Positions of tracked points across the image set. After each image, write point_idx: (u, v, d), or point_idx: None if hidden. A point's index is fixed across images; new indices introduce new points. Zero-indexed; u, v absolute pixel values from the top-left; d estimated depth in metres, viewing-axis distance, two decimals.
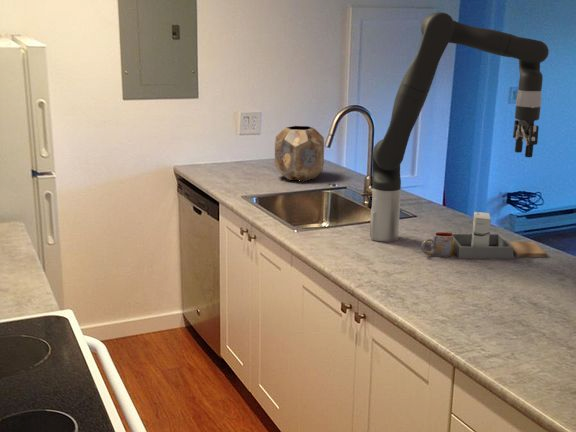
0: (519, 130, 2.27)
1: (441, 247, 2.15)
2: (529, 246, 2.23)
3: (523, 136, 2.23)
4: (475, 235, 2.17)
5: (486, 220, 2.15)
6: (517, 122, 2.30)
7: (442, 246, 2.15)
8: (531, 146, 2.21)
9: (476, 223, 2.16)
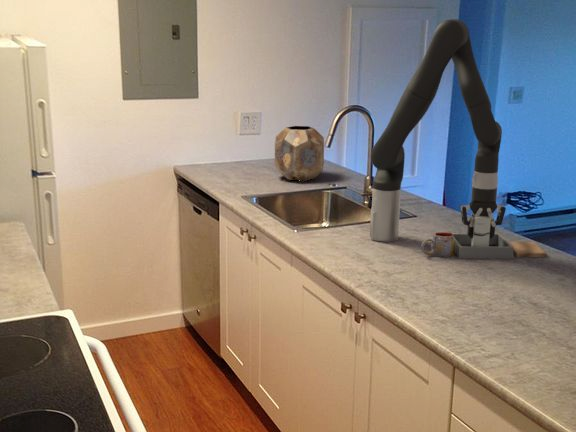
0: (480, 213, 2.17)
1: (441, 247, 2.15)
2: (529, 246, 2.23)
3: None
4: (475, 235, 2.17)
5: (486, 220, 2.15)
6: (465, 208, 2.18)
7: (442, 246, 2.15)
8: None
9: (476, 223, 2.16)
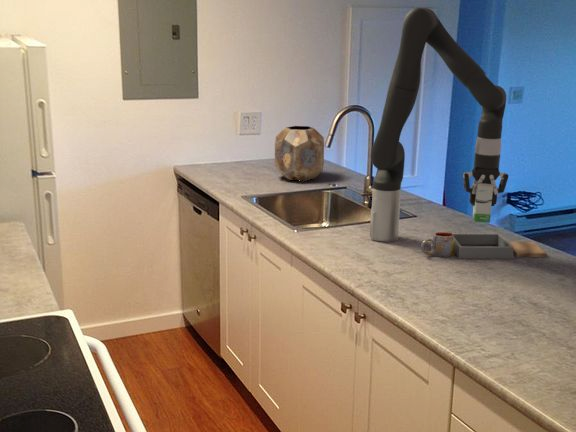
0: (482, 180, 2.15)
1: (441, 247, 2.15)
2: (529, 246, 2.23)
3: (493, 185, 2.15)
4: (477, 202, 2.14)
5: (488, 187, 2.12)
6: (468, 174, 2.15)
7: (442, 246, 2.15)
8: None
9: (478, 190, 2.13)
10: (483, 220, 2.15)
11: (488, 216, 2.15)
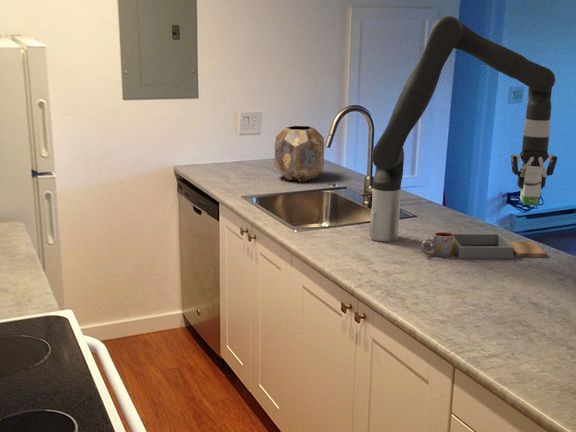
0: (531, 162, 2.13)
1: (441, 247, 2.15)
2: (529, 246, 2.23)
3: None
4: (526, 185, 2.13)
5: (538, 169, 2.11)
6: (516, 157, 2.13)
7: (442, 246, 2.15)
8: None
9: (527, 172, 2.12)
10: (532, 203, 2.13)
11: (537, 199, 2.13)
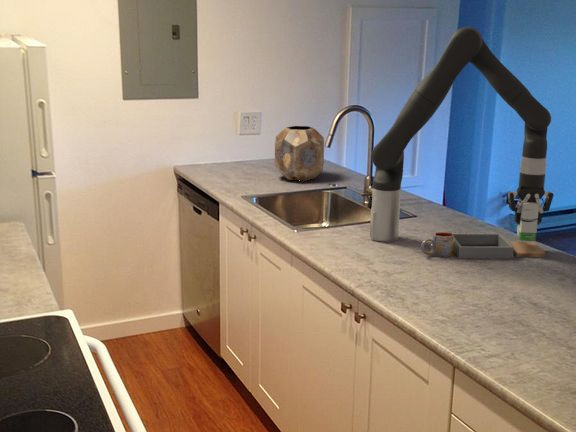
0: (527, 199, 2.16)
1: (441, 247, 2.15)
2: (529, 246, 2.23)
3: None
4: (523, 221, 2.16)
5: (534, 206, 2.14)
6: (513, 194, 2.16)
7: (442, 246, 2.15)
8: None
9: (524, 209, 2.15)
10: (529, 239, 2.16)
11: (534, 235, 2.16)
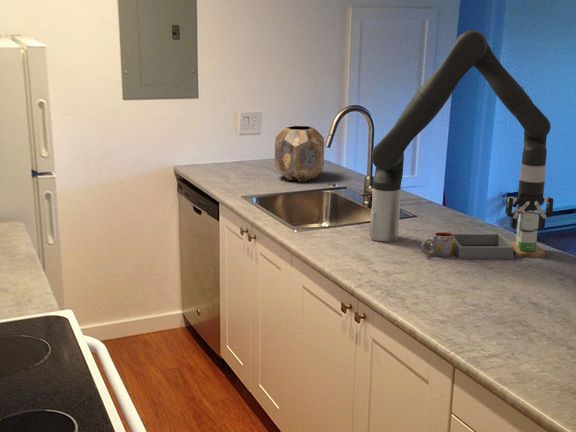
0: (526, 206, 2.17)
1: (441, 247, 2.15)
2: None
3: (539, 210, 2.17)
4: (523, 231, 2.16)
5: (534, 216, 2.15)
6: (512, 199, 2.17)
7: (442, 246, 2.15)
8: None
9: (524, 219, 2.15)
10: (529, 249, 2.17)
11: (534, 245, 2.17)
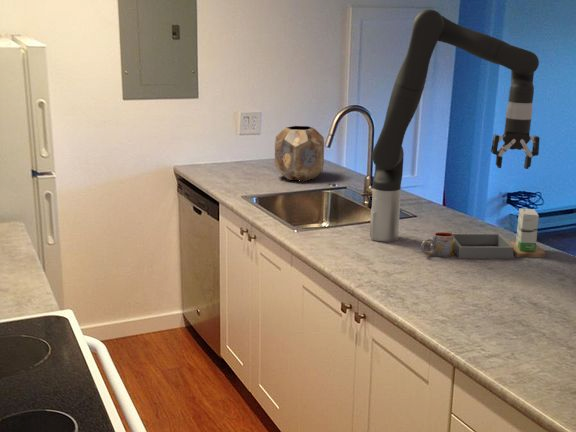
0: (512, 144, 2.17)
1: (441, 247, 2.15)
2: None
3: (525, 149, 2.17)
4: (523, 231, 2.16)
5: (534, 216, 2.15)
6: (499, 137, 2.17)
7: (442, 246, 2.15)
8: None
9: (524, 219, 2.15)
10: (529, 249, 2.17)
11: (534, 245, 2.17)
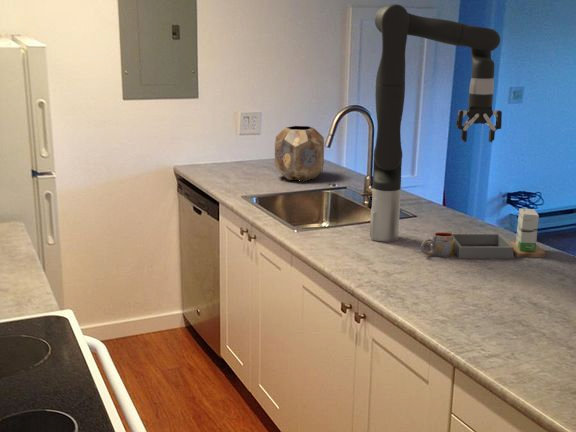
0: (475, 119, 2.27)
1: (441, 247, 2.15)
2: None
3: (488, 123, 2.27)
4: (523, 231, 2.16)
5: (534, 216, 2.15)
6: (463, 112, 2.27)
7: (442, 246, 2.15)
8: None
9: (524, 219, 2.15)
10: (529, 249, 2.17)
11: (534, 245, 2.17)
